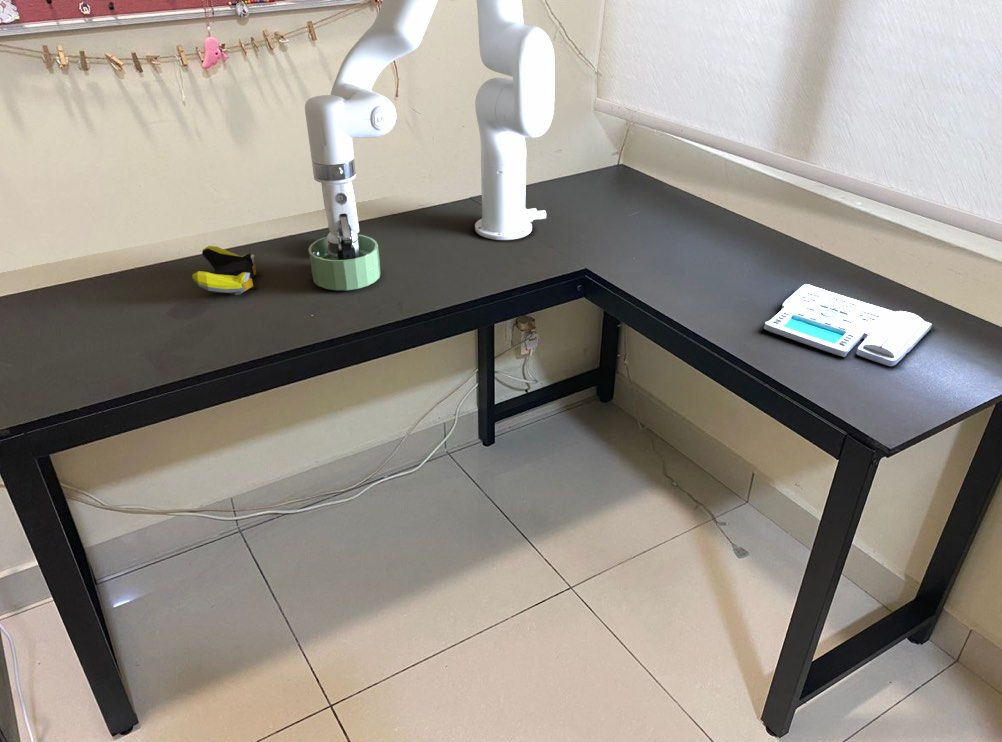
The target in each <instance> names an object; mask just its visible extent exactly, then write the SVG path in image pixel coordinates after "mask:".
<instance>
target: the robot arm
mask: <svg viewBox="0 0 1002 742" xmlns="http://www.w3.org/2000/svg"><path fill="white" fill-rule="evenodd" d="M448 1H451V2H452V1H453V2H454V0H448ZM475 2H476V10H477V25H478V27H477V28H478V45H479V55H480V60H481V62H482V64H483V66H485V68H487V69H489V70H490V71H492V72H495V73H498V74H502V75H505V76H509V77H512V79H510V78H507V77H492V78H490V79H488V80H486V81H485V82H483V83H482V84H481V86H480V87H479V88H478V90H477V92H476V95H475V103H474V106H475V116H476V120H477V126H478V131H479V139H480V140H479V141H480V176H481V178H480V180H481V182H480V184H481V185H480V186H481V218H480V219H478V220H477V221H476V222H475V224H474V230H475V232H476V234H478V235H479V236H481V237H483V238H485V239H490V240H495V241H512V240H513V241H514V240H518V239H522V238H524V237H526V236H529V234H531V232H532V231H533V224H532V223H533V221H534V220H538V221H540V220H546V219H547V212H546V210H545V209H543V210H537V208H536V207H534V208H527V207H526V188H527V187H526V184H527V183H526V182H527V181H526V180H527V179H526V178H527V176H526V175H527V144H526V139H525V138H527V139H536V138H540V137H541V136H543V135H544V134H545V133H546V132H548V130H549V129H550V126H551V124H552V121H553V117H554V113H555V112H554V111H555V51H554V47H553V44H552V41H551V39H550V37H549V35H548V34H547V33H546V32H545V31H544V30H543V29H542V28H540V27H538V26H536V25H533V24H528V23H525V22H524V16H523V15H524V14H523V3H522V0H476V1H475ZM437 4H438V0H382V2H381V4H380V8H379V10H378V12H377V15H376V18H375V20H374V21H373V23H372V25H371V26H370V27H369V28H368V29H367V30H366V31H365V32H364V33H363V34H362V35H361V36H360V38H359V39H358V40H357V41H356V43H355V44H353V46H352V47H351V48H350V50H349V51H348V52H347V54H346V55H345V56H344V59H343V61H342V62H341V64H340V67H339V69H338V72H337V74H336V77H335V79H334V81H333V85H332V88H331V91H330V94H323V95H317V96H316V95H315V96H313V97H310V98H309V99H307V100H306V102H305V105H304V114H305V123H306V128H307V136H308V143H309V151H310V158H311V165H312V166H311V167H312V174H313V179H314V181H315V182H318V183H319V184H321V185H320V186H321V193H322V199H323V206H324V211H325V216H326V220H327V223H328V222H329V225H330V227H331V230H332V233H333V234H334V235H335V236H337V242H338V248H339V249H337V253H338V260H347V259H354V258H356V256H355V248H354V245H353V239H352V232H351V229H352V231H353V233H356V234H358V235H359V233H360V226H359V218H358V213H357V205H356V204H357V203H356V197H355V191H354V186H353V180H355V179H356V177H357V173H356V163H355V155H354V145H353V144H354V143H353V139H363V138H364V139H367V138H369V139H370V138H374V139H375V138H380V137H383V136H385V135H387V134H388V133H390V132H391V131H392V130H393V128H394V126H395V125H396V122H397V110H396V107H395V105H394V104H393V102H392V101H391V100H390V99H389V98H388V97H387V96H385V95H383V94H381V93H378V92H375V91H373V90H372V89H373V86H374V85H375V83H376V80H377V79H378V78H379V75H380V74H381V72H383V70H384V69H385V68H386V67H387V66H388V65H389V64H391V63H392V62H393V61H395V60H397V59H399V58H402V57H404V56H406V55H408V54H410V53H412V52H413V51H415V50H417V49H418V48H419V46H420V45H421V43H422V40H423V37H424V35H425V32H426V30H427V28H428V26H429V22H430V21H431V17H432V15H433V13H434V10H435V8H436V6H437ZM339 220H340V221H339ZM339 230H342V233H340V234H339V232H338V231H339ZM340 237H343V240H342V241H341V239H340Z"/></svg>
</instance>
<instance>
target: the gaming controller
mask: <svg viewBox="0 0 1002 742" xmlns="http://www.w3.org/2000/svg"><path fill="white" fill-rule="evenodd" d="M201 255H202V258H203V259H204V261H206V263H207V264H208V265H209V266H210V267H211V269H212V270H213V271H214V272H213V273H211V272H208V271H200V270H198V271H196V272H194V273H192V277H191V278H192V282H193V283H194V284H195V285H196V286H197V287H199V288H201V289H202V290H203V291H206V292H209V293H211V294H230V295H231V296H239V295H242V293H243V294H244V292H246V291H248V290H250V289H251V288H253V287H254V279H255V276H256V275H257V270H256V265H255V263H254V262H255V254H251V253H245V254H244V255H238V254H236V253H233V252H232V251H229V250H227V249H224V248H222V247H220V246H215V245H208V246H206V247H205V248H203V249H202V252H201Z"/></svg>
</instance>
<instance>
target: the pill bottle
mask: <svg viewBox="0 0 1002 742" xmlns="http://www.w3.org/2000/svg"><path fill="white" fill-rule="evenodd" d="M339 221H340V220H339ZM327 223H328V224H327V225H328V226H327V227H328V231H329V233H328V234H327V236H326V237H327V241H328V248H329V256H330V260H338V253H337V249H339V248H338V242H337V236H335V235H334V234H333V233H332V230H331V227H330V225H329V222H328V221H327ZM338 232H339V234H340V233H342V230H339V231H338ZM351 232H352V239H353V245H354V248H355V256H356V258H358V257H360V255H359V246H358V237H357V234H356V233H353V231H352V229H351ZM340 239H341V241H342V240H343V237H340Z"/></svg>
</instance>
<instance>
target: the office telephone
mask: <svg viewBox="0 0 1002 742" xmlns="http://www.w3.org/2000/svg"><path fill="white" fill-rule="evenodd" d="M932 325H933V324H932V323H931V322H928V321H925V320H924V319H923V318H922V317H920V316H919V315H917V314H915V313H913V312H908V311H903V310H899V311H898V310H897V311H893V310H891V309H887V308H884V307H880V306H877V305H874V304H870V303H867V302H865V301H861V300H857V299H856V298H855V299H854V298H852V297H848V296H845V295H841V294H838V293H835V292H832V291H828V290H826V289H823V288H820V287H817V286H814V285H811V284H807V283H805V284H803V285H802V286H801V287H799V288H798V289H797V290H796V291H795V292H794V293H793V294H791V295H790V296H789V297H788V298H787V299H786V300H785V301H783V303H782V306H781V310H780V311H779V312H778V313H777V314H775V315H774V316H773V317H772V318H771V319H769V320H768V321H765V322H764V327H763V329H764V330H766V331H768V332H769V333H773V334H775V335H779V336H782V337H785V338H788V339H790V340H792V341H796V342H798V343H802V344H804V345H807V346H810V347H813V348H816V349H818V350H821V351H824V352H827V353H830V354H833V355H836V356H840V357H843V358H845V357H847V354H848V353H850V351H851V350H852V349H853V348H854V347H855V346H856V345H857V344H858V343H859V342H860V341H861V340H862V339H864V340H863V341H862V342H861V344H860V345H859V346H858V347H857V350H856V352H855V353H856V355H857V356H859V357H861V358H864V359H868V360H871V361H873V362H876V363H879V364H881V365H883V366H888V367H894V366H896V365H897V364H898V363H899V362H900V361H901V360H902V359H903V358H905V356H906V354H908V353H909V352H911V350H913V348H914V347H915V346H916V345H917V344H918V343H919V342H920V341H921V339H923V338H924V336H926V335H927V333H928V332H929V331H930V330H931V328H932Z"/></svg>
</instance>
